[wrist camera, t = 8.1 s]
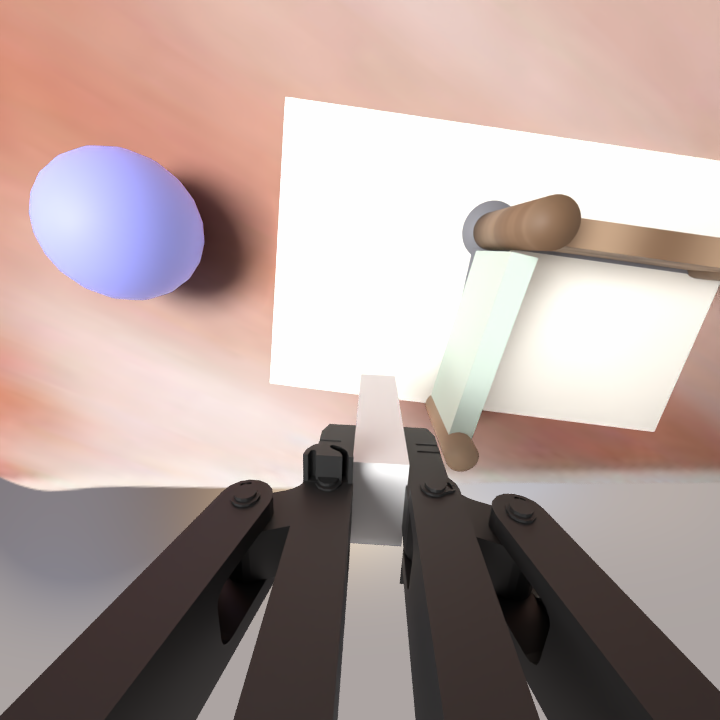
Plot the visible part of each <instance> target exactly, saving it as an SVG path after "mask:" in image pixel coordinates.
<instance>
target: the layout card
mask: <svg viewBox="0 0 720 720" xmlns="http://www.w3.org/2000/svg"><path fill="white" fill-rule="evenodd" d="M554 194H563V195H567V196H569V197H571V198H572V199H573V200H575V202H576V203H577V204H578V206H579V208H580V212H581V218H585V219H592V220H599V221H606V222H613V223H620V224H627V225H634V226H641V227H648V228H655V229H662V230H669V231H676V232H683V233H691V234H698V235H705V236H712V237H719V238H720V161H718V160H711V159H704V158H698V157H691V156H684V155H677V154H670V153H664V152H657V151H650V150H643V149H636V148H630V147H623V146H616V145H609V144H603V143H596V142H589V141H582V140H575V139H569V138H562V137H555V136H548V135H542V134H535V133H528V132H521V131H514V130H508V129H501V128H494V127H487V126H480V125H474V124H467V123H460V122H453V121H447V120H440V119H433V118H426V117H419V116H413V115H406V114H399V113H392V112H385V111H379V110H372V109H365V108H358V107H352V106H345V105H338V104H331V103H324V102H318V101H311V100H304V99H297V98H291V97H285V112H284V130H283V149H282V167H281V186H280V204H279V223H278V241H277V260H276V278H275V297H274V315H273V334H272V352H271V371H270V383H272V384H280V385H288V386H296V387H303V388H311V389H319V390H327V391H335V392H343V393H351V394H359V390H360V379H361V374H368V375H387V376H395V380H396V386H397V392H398V398H399V400H406V401H414V402H422V403H426V400H427V398H428V397H429V396H430V395H431V394H432V390H433V387H434V384H435V381H436V378H437V374H438V371H439V368H440V365H441V362H442V358H443V355H444V352H445V349H446V346H447V342H448V339H449V336H450V333H451V330H452V326H453V323H454V320H455V317H456V314H457V310H458V307H459V304H460V301H461V298H462V294H463V291H464V288H465V285H466V282H467V278H468V275H469V272H470V269H471V266H472V262H473V259H474V256H475V253H476V251H506V252H515V253H519V254H523V255H527V256H532V257H536V258H538V260H537V263H536V265H535V268H534V271H533V274H532V276H531V279H530V282H529V284H528V287H527V290H526V293H525V295H524V298H523V301H522V303H521V306H520V309H519V312H518V314H517V317H516V320H515V323H514V325H513V328H512V331H511V333H510V336H509V339H508V342H507V344H506V347H505V350H504V352H503V355H502V358H501V361H500V363H499V366H498V369H497V371H496V374H495V377H494V380H493V382H492V385H491V388H490V390H489V393H488V396H487V399H486V401H485V404H484V407H483V409H482V410H485V411H492V412H500V413H508V414H516V415H524V416H532V417H540V418H548V419H555V420H563V421H571V422H579V423H587V424H595V425H603V426H611V427H618V428H626V429H634V430H642V431H650V432H654V431H655V429H656V427H657V425H658V422H659V420H660V418H661V416H662V413H663V411H664V409H665V407H666V404H667V402H668V400H669V398H670V395H671V393H672V391H673V389H674V386H675V384H676V382H677V380H678V377H679V375H680V373H681V371H682V368H683V366H684V364H685V362H686V359H687V357H688V355H689V353H690V350H691V348H692V346H693V344H694V341H695V339H696V337H697V335H698V332H699V330H700V328H701V325H702V323H703V321H704V319H705V316H706V314H707V312H708V310H709V307H710V305H711V303H712V301H713V298H714V296H715V294H716V292H717V289H718V287H719V285H720V281H715V280H704V279H695V278H692V277H690V276H689V275H688V274H689V273H688V271H687V270H683V269H676V268H669V267H662V266H655V265H647V264H640V263H633V262H626V261H619V260H611V259H604V258H597V257H590V256H583V255H576V254H568V253H561V252H554V251H522V250H486V249H483V248H481V247H479V246H478V245H477V244H476V242H475V240H474V237H473V230H474V226H475V224H476V222H477V220H478V219H479V218H480V217H481V216H483V215H484V214H486V213H489V212H493V211H496V210H500V209H503V208H507V207H511V206H514V205H518V204H521V203H525V202H528V201H532V200H535V199H539V198H542V197H546V196H549V195H554Z"/></svg>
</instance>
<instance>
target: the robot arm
mask: <svg viewBox="0 0 720 720" xmlns="http://www.w3.org/2000/svg"><path fill="white" fill-rule="evenodd" d="M402 537H403V547H404V548H403V558H402V568H401V577H400V584H404V592H405V603H406V615H407V626H408V637H409V649H410V661H411V672H412V683H413V695H414V707H415V718H416V720H540V719H539V716H538V713H537V710H536V707H535V704H534V702H533V699H532V696H531V693H530V690H529V687H528V685H529V686H530V688H531V690H532V692H533V694H534V695H535V697H536V699H537V701H538V703H539V705H540V706H541V708H542V710H543V712H544V714H545V716H546V717H547V719H548V720H720V691H719V690H718V689H717V688H716V687H715V686H714V685H713V684H712V683H711V682H710V681H709V680H708V679H707V678H706V677H705V676H704V675H703V674H702V673H701V671H700V670H699V669H698V668H697V667H696V666H695V665H694V664H693V663H692V662H691V661H690V660H689V659H688V658H687V657H686V656H685V655H684V654H683V653H682V652H681V651H680V650H679V649H678V648H677V647H676V646H675V645H674V644H673V642H672V641H671V640H670V639H669V638H668V637H667V636H666V635H665V634H664V633H663V632H662V631H661V630H660V629H659V628H658V627H657V626H656V625H655V624H654V623H653V622H652V621H651V620H650V619H649V618H648V617H647V616H646V614H644V612H643V611H642V610H641V609H640V608H639V607H638V606H637V605H636V604H635V603H634V602H633V601H632V600H631V599H630V598H629V597H628V596H627V595H626V594H625V593H624V592H623V591H622V590H621V589H620V588H619V587H618V585H617V584H616V583H615V582H614V581H613V580H612V579H611V578H610V577H609V576H608V575H607V574H606V573H605V572H604V571H603V570H602V569H601V568H600V567H599V566H598V565H597V564H596V563H595V562H594V561H593V560H592V559H591V557H589V555H588V554H587V553H586V552H585V551H584V550H583V549H582V548H581V547H580V546H579V545H578V544H577V543H576V542H575V541H574V540H573V539H572V538H571V537H570V536H569V535H568V534H567V533H566V532H565V531H564V530H563V528H561V527H560V525H559V524H558V523H557V522H556V521H555V520H554V519H553V518H552V517H551V516H550V515H549V514H548V513H547V512H546V511H545V510H544V509H543V508H542V507H541V506H539V505H538V504H537V503H536V502H534V501H532V500H530V499H528V498H526V497H523V496H519V495H515V494H502V495H499V496H497V497H496V498H495V499H494V500H493V501H492V505H488V504H485V503H481V502H478V501H475V500H472V499H469V498H467V497H465V496H463V495H461V492H460V490H459V488H458V486H457V485H456V483H454V482H453V481H452V480H450V479H449V478H448V476H447V473H446V470H445V467H444V464H443V461H442V458H441V455H440V451H439V448H438V447H437V442H436V439H435V436H434V435H433V434H432V433H431V432H430V431H429V430H428V429H426V428H408V427H403V422H402V416H401V410H400V404H399V398H398V392H397V386H396V380H395V376H387V375H368V374H361V379H360V390H359V400H358V410H357V421H356V426H355V425H337V424H329V425H328V426H327V427H326V428H325V429H324V430H323V431H322V433H321V437H320V441H319V444H315V445H313V446H311V447H309V448H308V449H307V450H306V451H305V452H304V454H303V484H301V485H300V486H298V487H295V488H293V489H290V490H286V491H280V492H275V493H273V492H272V488H271V487H270V486H269V485H268V484H267V483H265V482H262V481H259V480H246V481H240V482H238V483H235V484H233V485H230V486H229V487H228V488H226V489H225V490H224V491H223V492H222V493H221V494H220V495H219V496H218V497H217V498H216V499H215V500H214V501H213V502H212V503H211V504H210V505H209V506H208V507H207V508H206V509H205V510H204V511H203V512H202V513H201V514H200V515H199V516H198V517H197V518H196V519H195V520H194V521H193V522H192V523H191V524H190V525H189V526H188V527H187V528H186V529H185V530H184V531H183V532H182V533H181V534H180V535H179V536H178V537H177V538H176V539H175V540H174V541H173V542H172V543H171V544H170V545H169V546H168V547H167V548H166V549H165V550H164V551H163V552H162V553H161V554H160V555H159V556H158V557H157V558H156V559H155V560H154V561H153V562H152V563H151V564H150V565H149V566H148V567H147V568H146V569H145V570H144V571H143V572H142V574H140V575H139V576H138V577H137V578H136V579H135V580H134V581H133V582H132V583H131V585H129V586H128V587H127V588H126V589H125V590H124V591H123V593H121V594H120V595H119V597H118V598H117V599H116V600H115V601H114V602H113V603H112V604H111V605H110V606H109V607H108V608H107V609H106V610H105V611H104V612H103V613H102V614H101V615H100V616H99V617H98V618H97V619H96V620H95V621H94V622H93V623H92V624H91V625H90V626H89V627H88V628H87V629H86V630H85V631H84V632H83V633H82V634H81V635H80V636H79V637H78V638H77V639H76V640H75V641H74V642H73V643H72V644H71V645H70V646H69V647H68V648H67V649H66V650H65V651H64V652H63V653H62V654H61V655H60V656H59V657H58V658H57V659H56V660H55V661H54V662H53V663H52V664H51V665H50V666H49V667H48V668H47V669H46V670H45V671H44V672H43V673H42V675H40V676H39V677H38V678H37V679H36V680H35V681H34V682H33V683H32V684H31V685H30V686H29V687H28V688H27V689H26V690H25V692H23V693H22V694H21V695H20V696H19V698H17V699H16V701H15V702H14V703H13V704H11V706H10V707H9V708H8V709H7V710H6V711H5V712H4V713H3V714H2V715H1V716H0V720H196V719H197V717H198V715H199V713H200V712H201V710H202V708H203V706H204V705H205V703H206V701H207V699H208V698H209V696H210V694H211V692H212V690H213V689H214V687H215V685H216V683H217V682H218V680H219V678H220V676H221V675H222V673H223V671H224V669H225V668H226V666H227V664H228V662H229V660H230V659H231V657H232V655H233V653H234V652H235V650H236V648H237V646H238V645H239V643H240V641H241V639H242V638H243V636H244V634H245V632H246V630H247V629H248V627H249V625H250V623H251V621H252V620H253V618H254V616H255V615H256V612H257V611H258V609H259V608H260V606H261V604H262V602H263V600H264V599H265V597H266V595H267V593H268V592H269V589H270V588H271V586H272V585H273V587H272V590H271V593H270V597H269V600H268V604H267V607H266V611H265V614H264V617H263V621H262V624H261V628H260V631H259V634H258V638H257V641H256V645H255V648H254V651H253V655H252V658H251V662H250V665H249V669H248V672H247V675H246V679H245V682H244V686H243V689H242V692H241V696H240V699H239V703H238V706H237V709H236V713H235V716H234V720H337V719H338V705H339V692H340V678H341V664H342V651H343V636H344V624H345V610H346V597H347V583H348V570H349V552H350V543H358V544H374V545H390V546H401V543H402ZM526 681H527V682H526ZM527 683H528V685H527Z"/></svg>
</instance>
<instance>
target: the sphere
mask: <svg viewBox="0 0 720 720" xmlns="http://www.w3.org/2000/svg"><path fill="white" fill-rule="evenodd" d="M29 215H30V219H31V223H32V228H33V232H34V234H35V236H36V238H37V240H38V242H39V244H40V245H41V247H42V249H43V251H44V253H45V254H46V255H47V257H48V258H49V259H50V260H51V261H52V262H53V263H54V264H55V266H56V267H57V268H58V269H59V270H60V271H61V272H62V273H64V274H65V275H67V276H68V277H70V278H71V279H72V280H74V281H75V282H77V283H78V284H80V285H81V286H83V287H84V288H86V289H89V290H91V291H94V292H97V293H100V294H103V295H106V296H108V297H111V298H116V299H129V300H147V299H151V298H155V297H158V296H161V295H165V294H168V293H170V292H173V291H174V290H175V289H177V288H178V287H179V286H181V285H182V284H183V283H185V282H186V281H187V280H188V279H189V278H190V277H191V276H192V274H193V273H194V271H195V269H196V268H197V266H198V265H199V263H200V260H201V256H202V251H203V247H204V243H205V242H204V230H203V222H202V219H201V217H200V214H199V212H198V209H197V206H196V204H195V201H194V199H193V198H192V197H191V195H190V194H189V193H188V191H187V190H186V189H185V187H184V186H183V185H182V183H181V182H180V181H179V180H178V179H177V178H176V177H175V176H174V175H172V174H171V173H170V172H169V171H167V170H166V169H165V168H164V167H162V166H161V165H160V164H159V163H157V162H156V161H154V160H152V159H150V158H148V157H146V156H143V155H141V154H138V153H135V152H133V151H130V150H128V149H125V148H121V147H113V146H83V147H80V148H77V149H74V150H71V151H68V152H65V153H63V154H60V155H58V156H57V157H55V158H54V159H53V160H52V161H51V162H50V163H49V164H48V165H47V166H46V167H45V168H43V169H42V170H41V171H40V172H39V174H38V176H37V178H36V181H35V183H34V185H33V187H32V190H31V193H30V206H29Z"/></svg>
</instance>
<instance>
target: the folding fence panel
mask: <svg viewBox="0 0 720 720" xmlns="http://www.w3.org/2000/svg"><path fill="white" fill-rule="evenodd" d="M537 260H538V258H536V257H532V256H527V255H523V254H519V253H515V252H506V251H476V253H475V256H474V259H473V262H472V266H471V269H470V272H469V275H468V278H467V282H466V285H465V288H464V291H463V294H462V298H461V301H460V304H459V307H458V310H457V314H456V317H455V320H454V323H453V326H452V330H451V333H450V336H449V339H448V342H447V346H446V349H445V352H444V355H443V358H442V362H441V365H440V368H439V371H438V374H437V378H436V381H435V384H434V387H433V390H432V394H431V395H430V396H429V397H428V398H427V400H426V403H425V406H426V410H427V412H428V415H429V418H430V420H431V423H432V426H433V428H434V431H435V434H436V436H437V439H438V442H439V445H440V447H441V450H442V453H443V455H444V458H445V461H446V463H447V465H448V466H449V467H450V468H451V469H453V470H455V471H467V470H469V469H471V468H473V467H474V466H475V465H476V463H477V461H478V458H479V454H478V451H477V449H476V447H475V445H474V443H473V442H472V440H471V439H472V437H473V434H474V431H475V429H476V426H477V423H478V420H479V418H480V415H481V412H482V409H483V407H484V404H485V401H486V399H487V396H488V393H489V390H490V388H491V385H492V382H493V380H494V377H495V374H496V371H497V369H498V366H499V363H500V361H501V358H502V355H503V352H504V350H505V347H506V344H507V342H508V339H509V336H510V333H511V331H512V328H513V325H514V323H515V320H516V317H517V314H518V312H519V309H520V306H521V303H522V301H523V298H524V295H525V293H526V290H527V287H528V284H529V282H530V279H531V276H532V274H533V271H534V268H535V265H536V263H537Z"/></svg>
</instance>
